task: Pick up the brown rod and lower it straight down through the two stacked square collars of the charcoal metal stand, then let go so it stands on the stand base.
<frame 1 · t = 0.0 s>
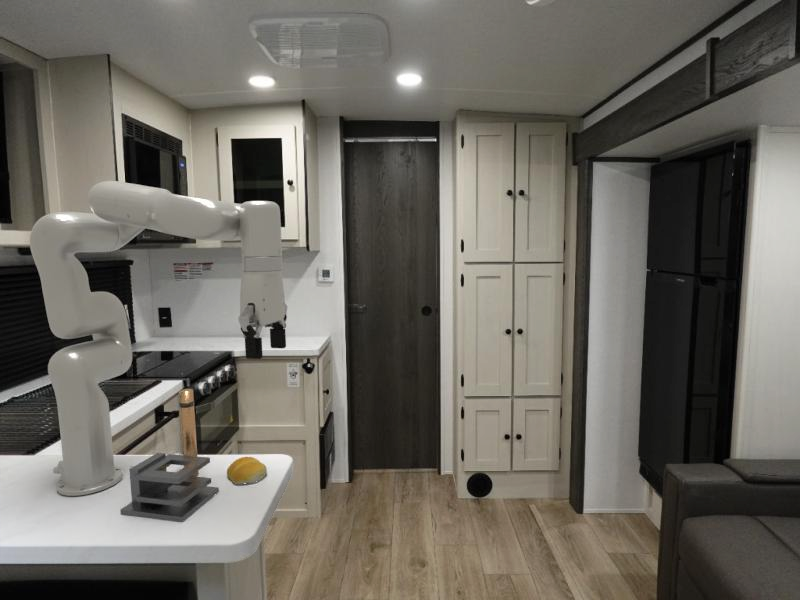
hand: (266, 352, 99), 31 cm above the table, tool pointing down, fingers open, 9 cm apart
brown rod: (191, 474, 116), on the table
collar stand: (176, 503, 103), on the table
bread roll: (246, 477, 115), on the table
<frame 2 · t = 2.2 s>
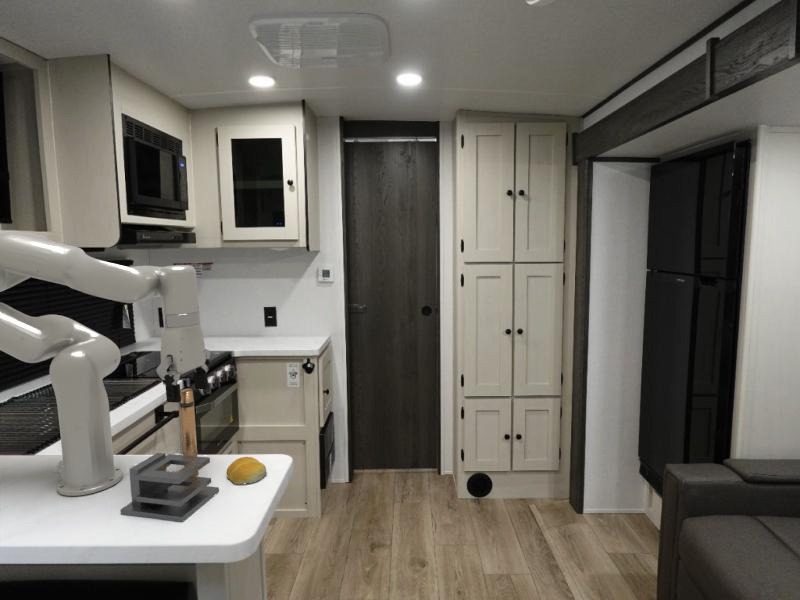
hand: (188, 395, 114), 19 cm above the table, tool pointing down, fingers open, 9 cm apart
nothing on the table moved.
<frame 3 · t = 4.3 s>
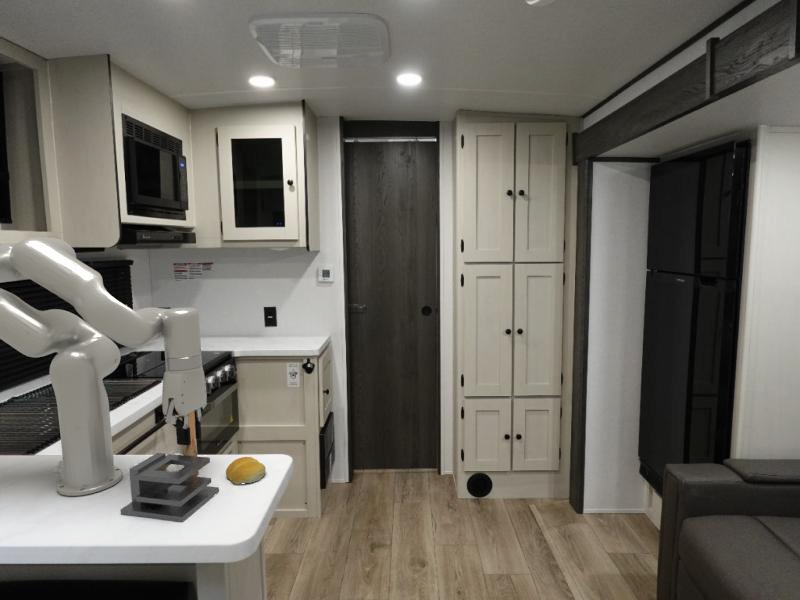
hand: (189, 440, 115), 8 cm above the table, tool pointing down, fingers closed on brown rod, 3 cm apart
brown rod: (191, 474, 116), on the table, touching gripper
everything else where it was.
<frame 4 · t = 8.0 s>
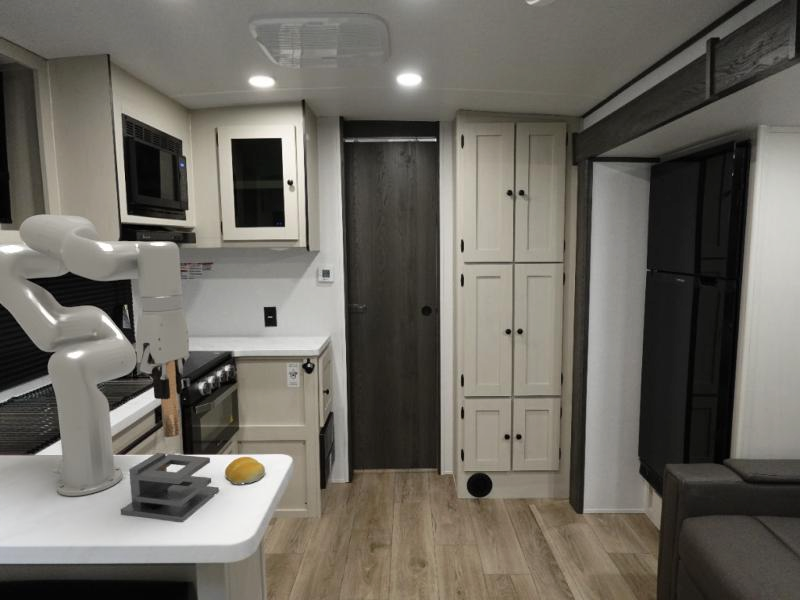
hand: (168, 394, 100), 23 cm above the table, tool pointing down, fingers closed on brown rod, 3 cm apart
brown rod: (171, 434, 101), point 15 cm above the table, touching gripper
everything else where it was.
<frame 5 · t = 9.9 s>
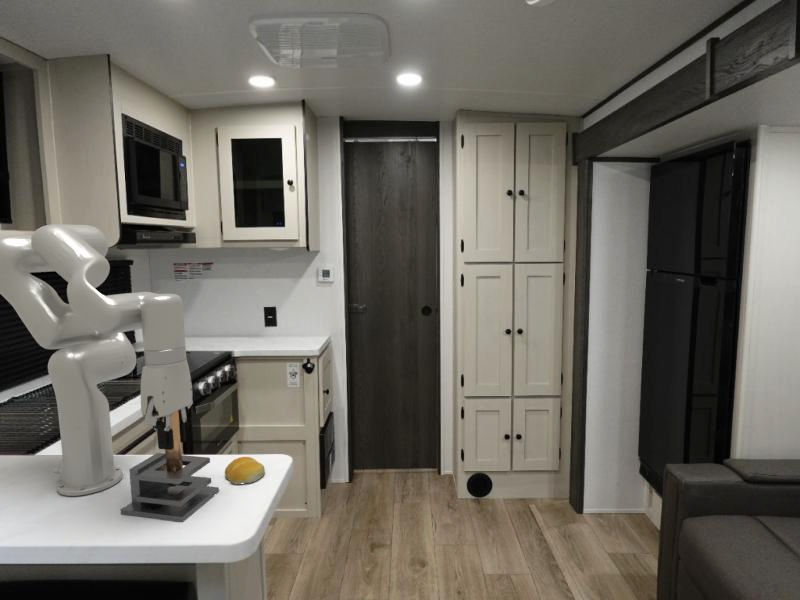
hand: (172, 444, 101), 13 cm above the table, tool pointing down, fingers closed on brown rod, 3 cm apart
brown rod: (175, 483, 102), point 4 cm above the table, touching gripper
everything else where it was.
when the fingers open (10 cm above the table, at t = 11.6 s): brown rod stays where it is, resting on collar stand.
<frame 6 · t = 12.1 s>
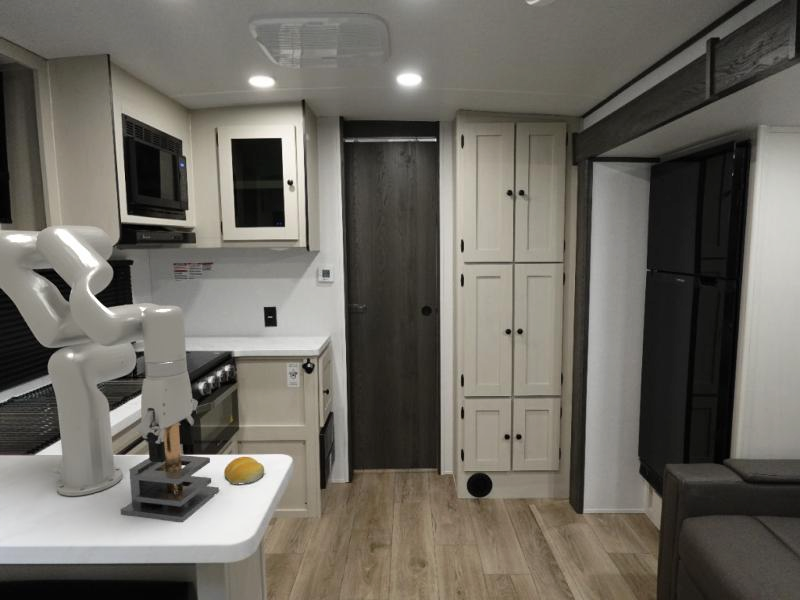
hand: (172, 451, 102), 11 cm above the table, tool pointing down, fingers open, 8 cm apart
brown rod: (175, 498, 103), point 1 cm above the table, touching collar stand
everything else where it was.
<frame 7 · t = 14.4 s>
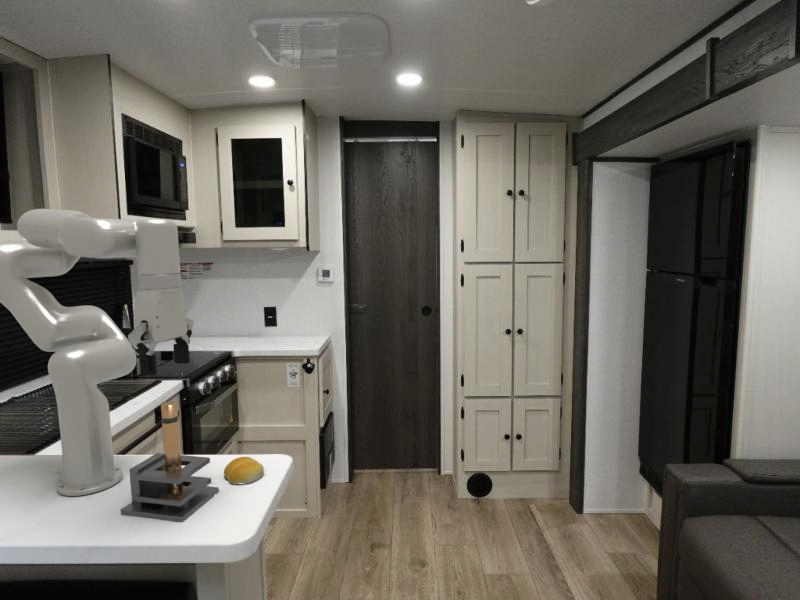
hand: (166, 368, 100), 28 cm above the table, tool pointing down, fingers open, 9 cm apart
nothing on the table moved.
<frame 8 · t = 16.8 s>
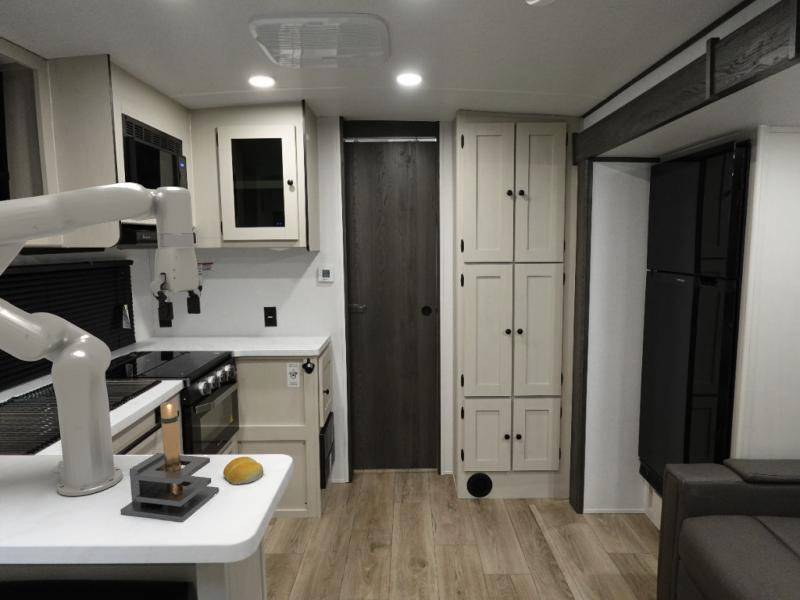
hand: (181, 316, 116), 36 cm above the table, tool pointing down, fingers open, 9 cm apart
nothing on the table moved.
at the end: brown rod 0.0 cm off-centre on the collar stand, point 1.0 cm above the collar stand's base; brown rod tilted 0°; the gripper is holding nothing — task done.
